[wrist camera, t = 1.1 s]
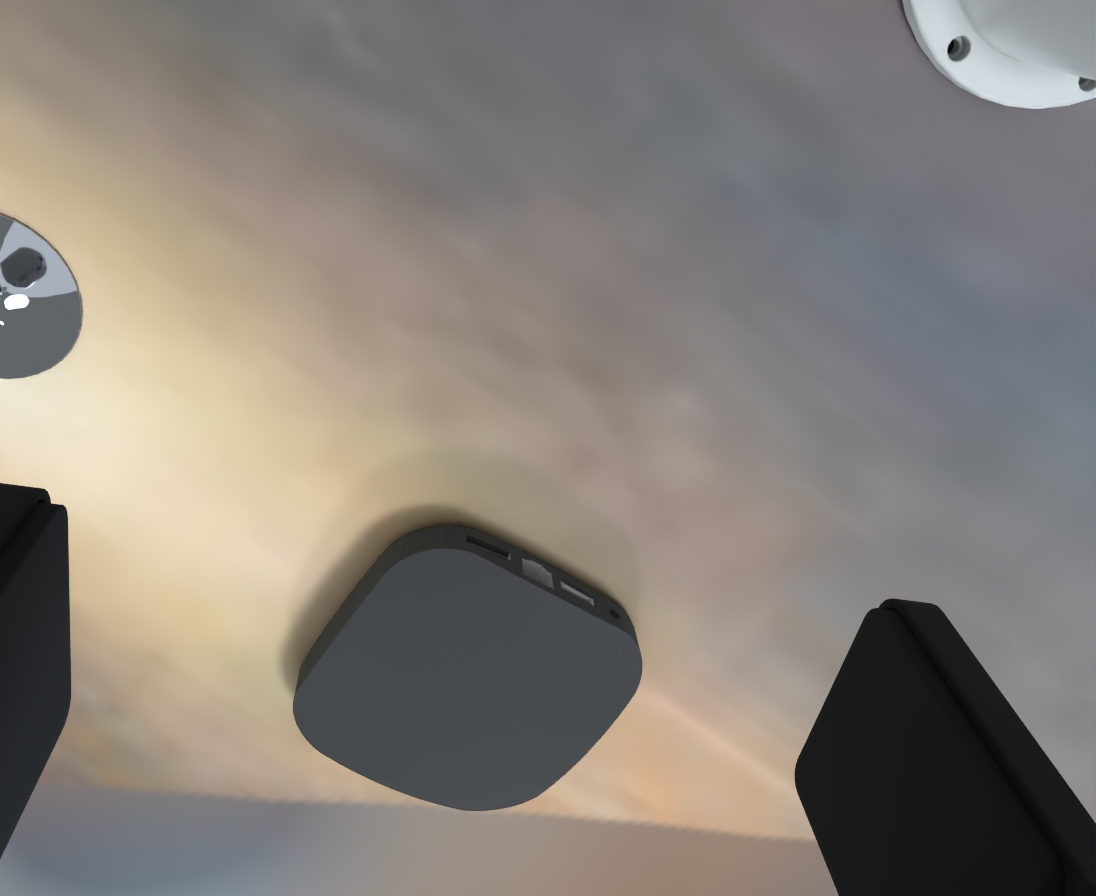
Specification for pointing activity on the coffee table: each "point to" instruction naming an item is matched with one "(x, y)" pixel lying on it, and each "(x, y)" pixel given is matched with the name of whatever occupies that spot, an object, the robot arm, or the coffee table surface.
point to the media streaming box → (466, 672)
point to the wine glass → (34, 303)
